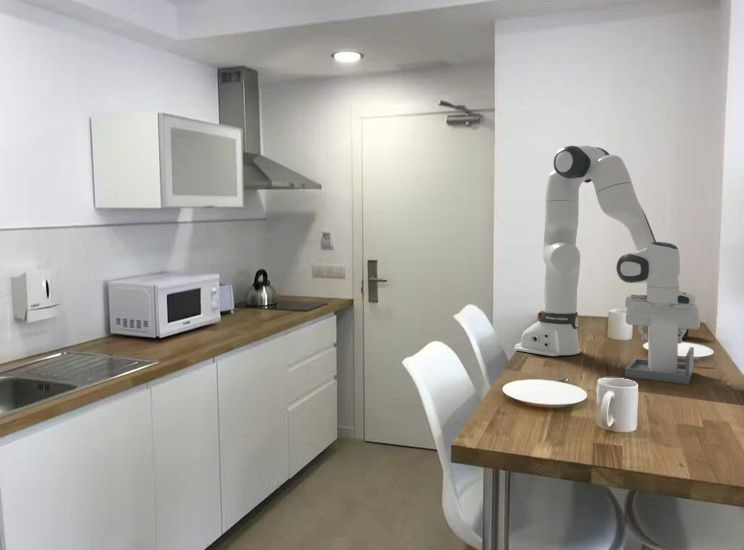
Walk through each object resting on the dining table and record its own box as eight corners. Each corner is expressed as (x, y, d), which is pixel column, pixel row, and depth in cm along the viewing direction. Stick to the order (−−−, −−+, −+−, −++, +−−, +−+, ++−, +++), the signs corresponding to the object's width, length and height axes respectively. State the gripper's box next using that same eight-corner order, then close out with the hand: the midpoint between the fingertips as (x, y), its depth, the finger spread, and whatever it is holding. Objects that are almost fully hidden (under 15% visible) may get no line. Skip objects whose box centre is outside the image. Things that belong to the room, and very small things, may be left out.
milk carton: (677, 374, 180) (678, 311, 178) (651, 373, 182) (651, 310, 180) (673, 368, 187) (673, 307, 185) (648, 367, 189) (648, 307, 187)
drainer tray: (624, 376, 182) (625, 350, 182) (633, 365, 196) (634, 341, 195) (688, 384, 173) (689, 356, 173) (693, 372, 187) (694, 346, 186)
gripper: (623, 295, 185) (622, 340, 186) (699, 299, 174) (698, 346, 176) (627, 293, 191) (626, 336, 192) (701, 296, 180) (699, 342, 181)
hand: (661, 341), depth 184 cm, fingers open, 8 cm apart
